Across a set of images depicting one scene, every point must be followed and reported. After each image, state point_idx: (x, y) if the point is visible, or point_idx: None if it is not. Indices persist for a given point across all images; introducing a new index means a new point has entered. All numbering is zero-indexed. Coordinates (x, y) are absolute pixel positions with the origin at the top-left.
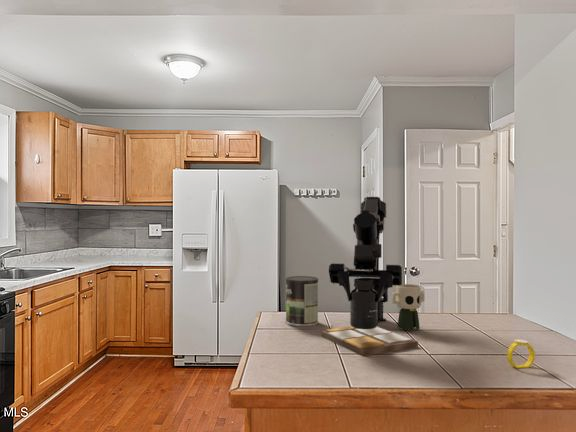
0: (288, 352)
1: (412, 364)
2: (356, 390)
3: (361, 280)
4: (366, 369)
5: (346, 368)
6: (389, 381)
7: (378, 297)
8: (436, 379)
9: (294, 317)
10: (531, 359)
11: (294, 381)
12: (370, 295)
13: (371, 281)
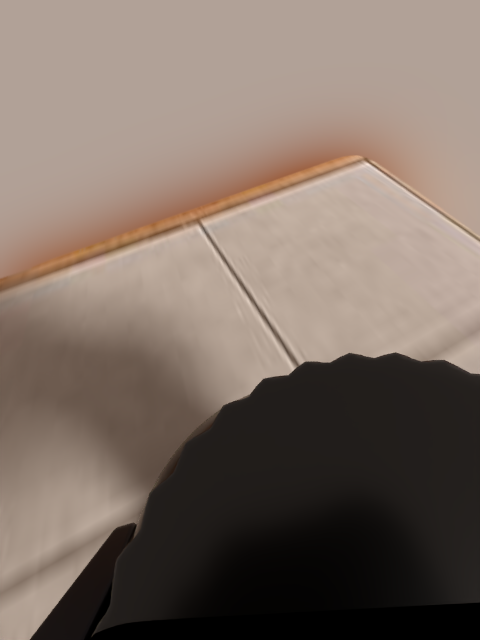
0: (471, 343)
1: (65, 416)
2: (183, 215)
3: (360, 362)
4: (194, 314)
5: (244, 299)
6: (128, 272)
7: (108, 549)
8: (14, 326)
9: None
10: None
11: (305, 204)
12: (189, 439)
13: (131, 544)
